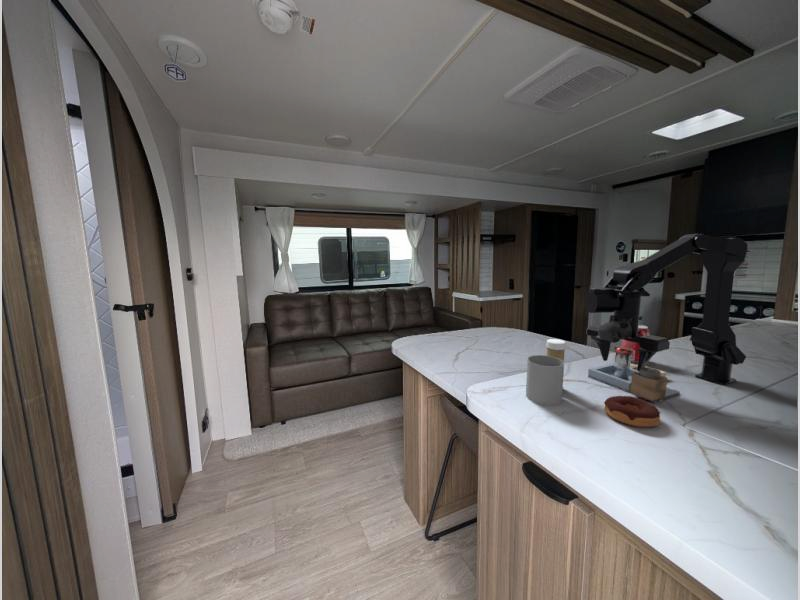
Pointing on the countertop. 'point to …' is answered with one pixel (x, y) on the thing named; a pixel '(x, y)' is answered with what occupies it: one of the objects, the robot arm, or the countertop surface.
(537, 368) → the cup
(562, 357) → the sprinkles bottle
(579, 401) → the countertop surface
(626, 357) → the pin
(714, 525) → the countertop surface
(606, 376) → the tray
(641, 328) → the soda can
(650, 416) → the donut
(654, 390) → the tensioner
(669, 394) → the rail
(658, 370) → the socket
